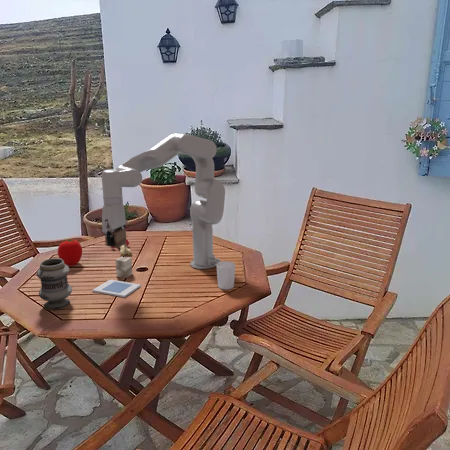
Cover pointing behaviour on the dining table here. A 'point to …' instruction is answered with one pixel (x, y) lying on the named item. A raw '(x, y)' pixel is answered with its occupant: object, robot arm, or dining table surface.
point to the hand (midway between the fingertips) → (116, 243)
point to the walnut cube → (118, 237)
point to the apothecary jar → (54, 283)
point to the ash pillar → (123, 267)
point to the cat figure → (125, 249)
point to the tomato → (70, 252)
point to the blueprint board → (117, 288)
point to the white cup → (225, 274)
